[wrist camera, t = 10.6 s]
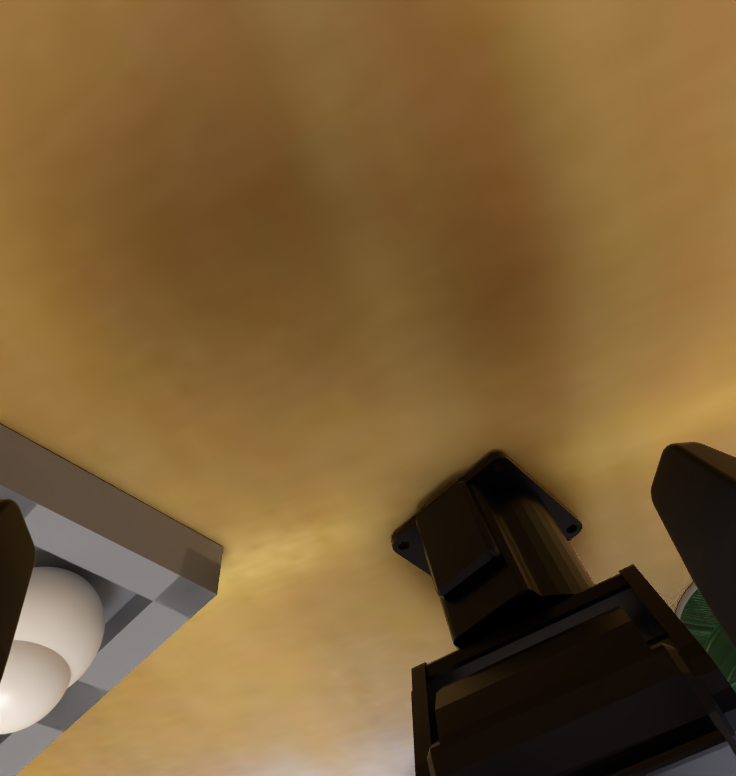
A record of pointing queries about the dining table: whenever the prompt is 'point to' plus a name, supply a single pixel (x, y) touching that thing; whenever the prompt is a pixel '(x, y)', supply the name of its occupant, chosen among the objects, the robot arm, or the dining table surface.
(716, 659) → the canned tomato
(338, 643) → the dining table surface
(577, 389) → the dining table surface
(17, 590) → the robot arm
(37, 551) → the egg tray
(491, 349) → the dining table surface
